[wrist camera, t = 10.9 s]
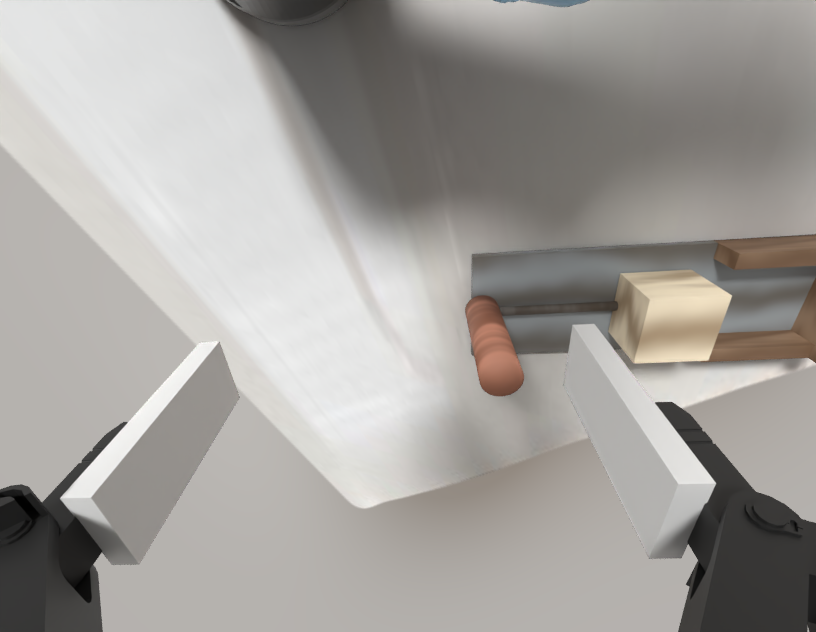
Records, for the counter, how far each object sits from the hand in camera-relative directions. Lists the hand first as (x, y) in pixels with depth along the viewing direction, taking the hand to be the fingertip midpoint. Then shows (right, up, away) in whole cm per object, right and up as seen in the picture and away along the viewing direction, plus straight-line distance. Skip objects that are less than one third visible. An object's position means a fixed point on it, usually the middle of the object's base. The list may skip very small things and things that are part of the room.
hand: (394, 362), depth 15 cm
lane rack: (+26, +4, +28) cm, 38 cm away
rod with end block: (+18, +3, +27) cm, 33 cm away
